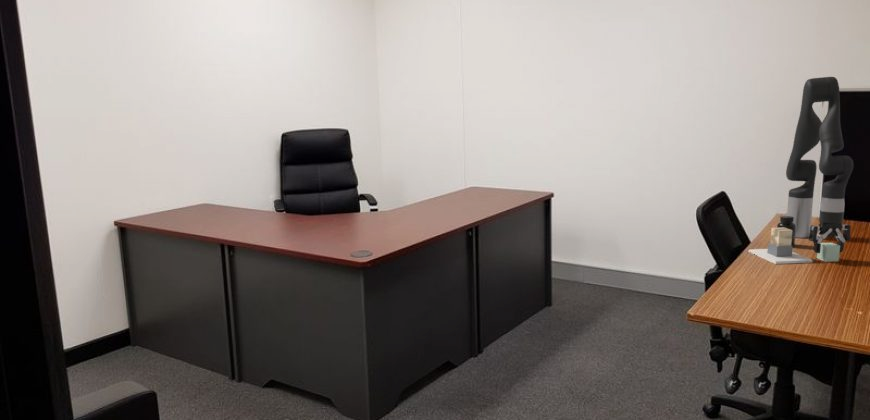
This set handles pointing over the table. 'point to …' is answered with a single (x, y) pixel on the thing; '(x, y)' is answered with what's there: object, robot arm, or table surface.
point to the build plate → (781, 259)
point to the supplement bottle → (788, 226)
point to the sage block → (829, 252)
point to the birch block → (781, 236)
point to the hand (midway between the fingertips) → (828, 252)
